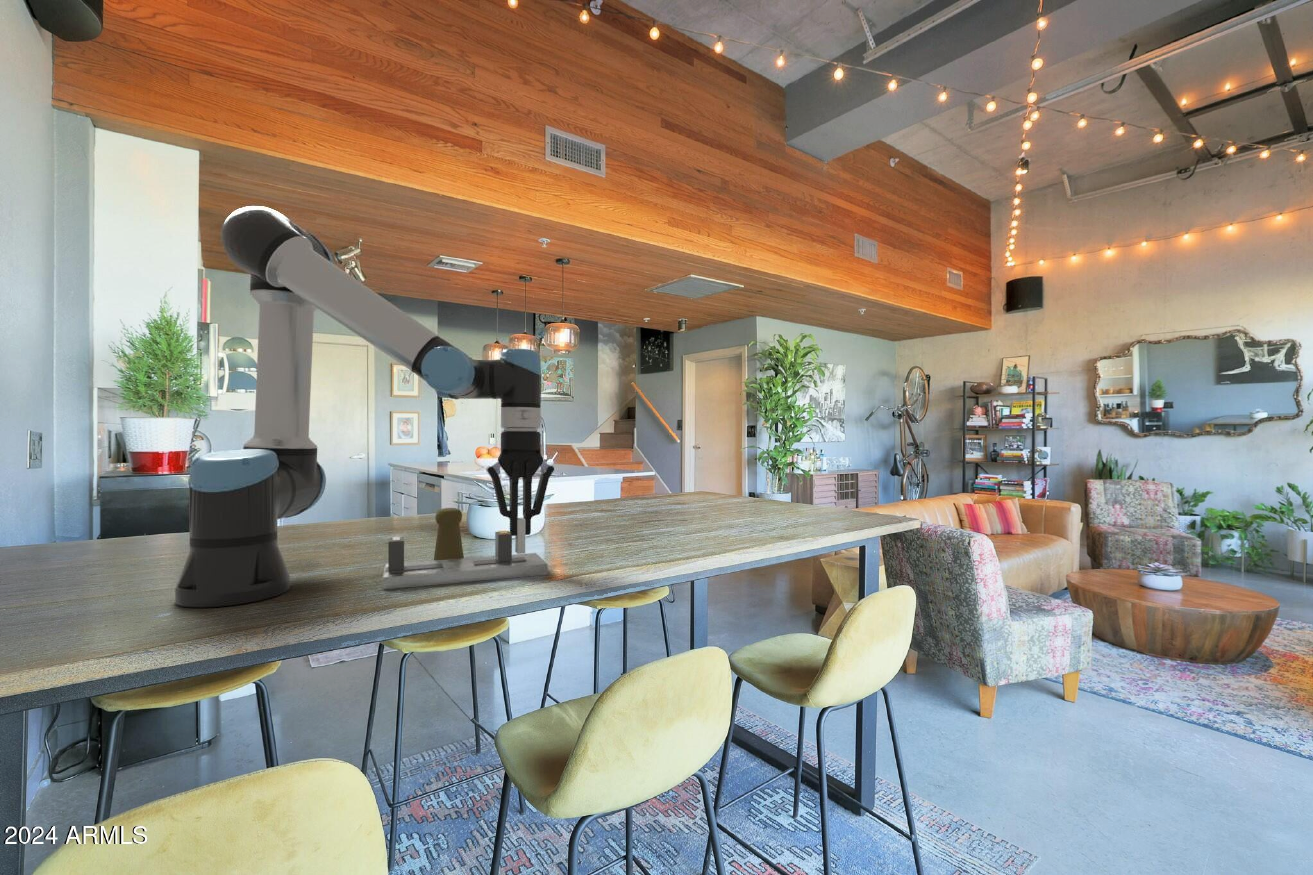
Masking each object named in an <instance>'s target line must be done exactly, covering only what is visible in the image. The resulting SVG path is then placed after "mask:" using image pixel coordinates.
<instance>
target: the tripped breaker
mask: <svg viewBox="0 0 1313 875" xmlns="http://www.w3.org/2000/svg"><path fill="white" fill-rule="evenodd" d="M494 535H495V536H494V538H495V541H494V542H495V543H494V544H495V545H494V546H495V548H494V549H495V550H494V554H495V555H494V556H495V558H496V559H497V561H498V562H502V561H512V555H513V536H512V534H511V533H510V530H498V531H495V534H494Z"/></svg>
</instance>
